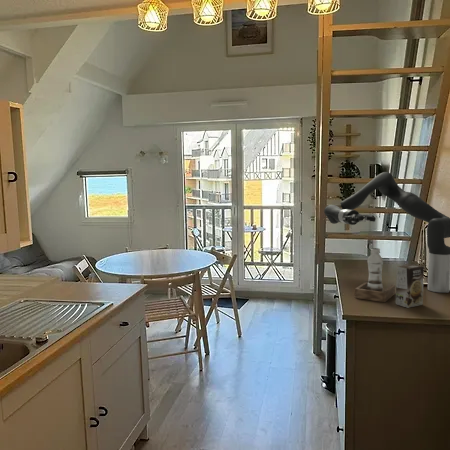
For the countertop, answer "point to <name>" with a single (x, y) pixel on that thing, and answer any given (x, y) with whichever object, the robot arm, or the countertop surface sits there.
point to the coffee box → (409, 285)
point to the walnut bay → (374, 293)
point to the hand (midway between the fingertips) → (366, 219)
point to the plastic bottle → (375, 270)
